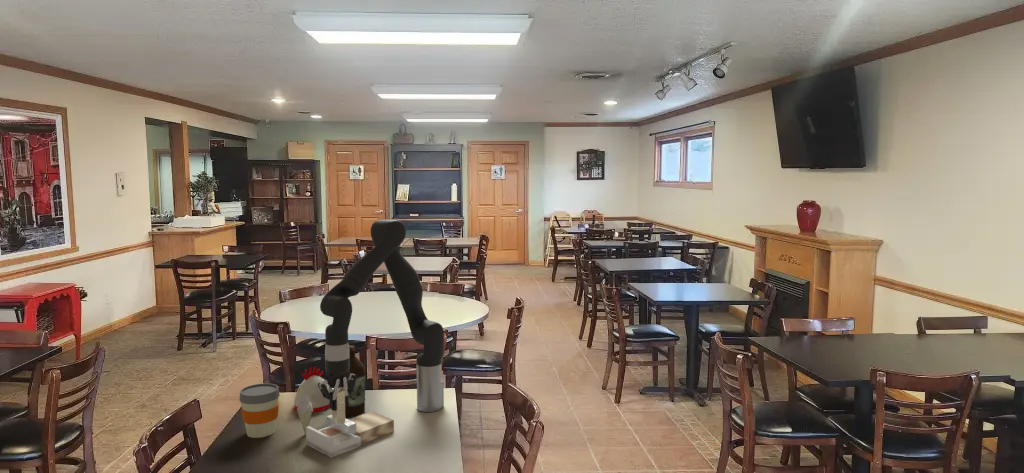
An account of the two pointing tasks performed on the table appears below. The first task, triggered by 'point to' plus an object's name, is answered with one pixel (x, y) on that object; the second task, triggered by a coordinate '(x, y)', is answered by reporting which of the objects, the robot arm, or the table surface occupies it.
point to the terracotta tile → (331, 432)
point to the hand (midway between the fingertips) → (338, 408)
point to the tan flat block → (372, 426)
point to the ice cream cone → (305, 411)
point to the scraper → (341, 416)
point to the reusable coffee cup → (260, 409)
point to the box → (330, 442)
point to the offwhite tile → (341, 437)
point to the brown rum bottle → (356, 387)
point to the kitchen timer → (312, 391)
